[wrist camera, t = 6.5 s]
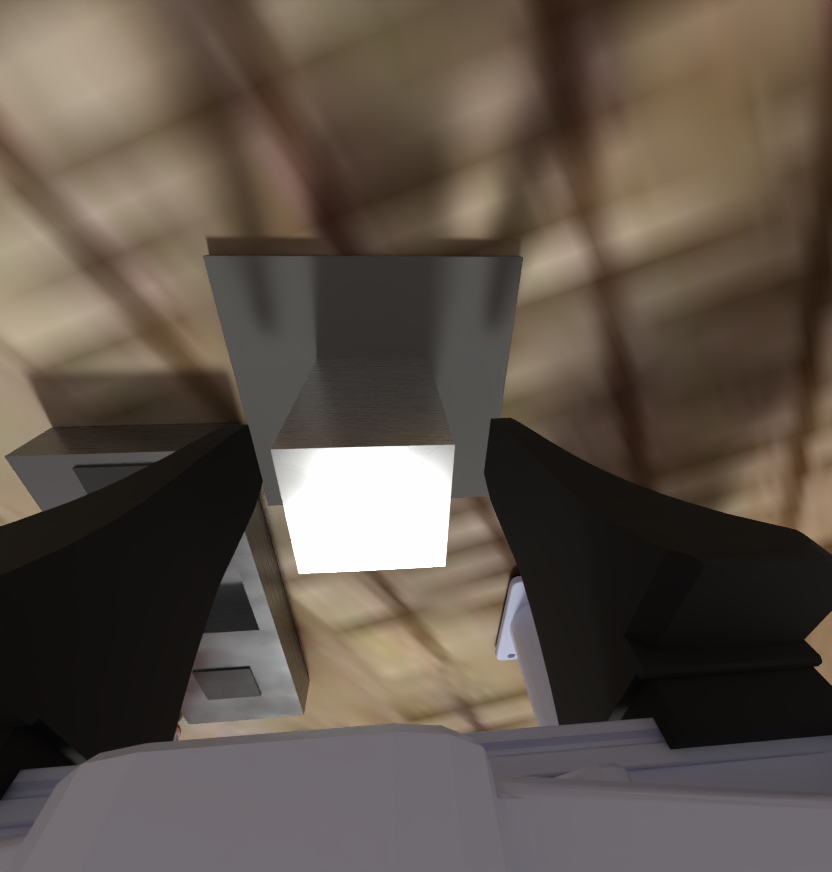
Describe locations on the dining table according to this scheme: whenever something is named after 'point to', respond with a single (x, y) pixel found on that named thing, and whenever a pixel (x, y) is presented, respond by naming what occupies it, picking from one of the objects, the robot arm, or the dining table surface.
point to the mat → (369, 335)
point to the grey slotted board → (237, 594)
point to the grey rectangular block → (366, 467)
